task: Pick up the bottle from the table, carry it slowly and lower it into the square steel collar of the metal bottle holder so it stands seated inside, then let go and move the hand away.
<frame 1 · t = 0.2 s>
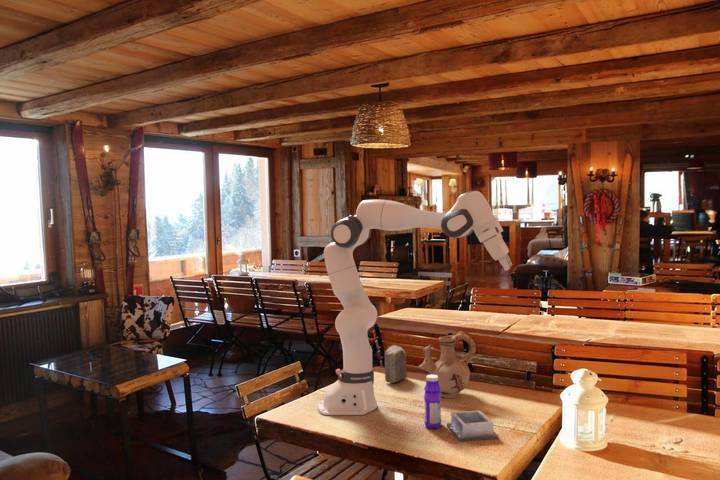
hand: (509, 268, 189), 54 cm above the table, tool tilted 30°, fingers open, 8 cm apart
bottle: (432, 426, 190), on the table
geological specimen: (395, 381, 241), on the table
bottle holder: (471, 432, 184), on the table
ceramic vessel: (446, 395, 222), on the table
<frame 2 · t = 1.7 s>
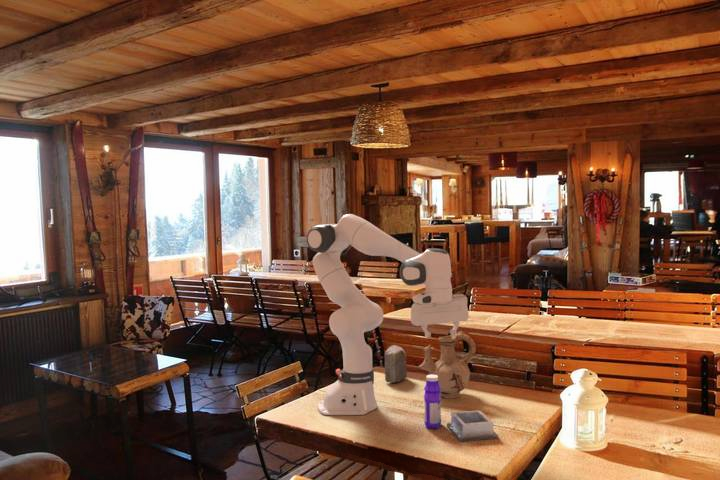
hand: (440, 336, 188), 31 cm above the table, tool pointing down, fingers open, 8 cm apart
nothing on the table moved.
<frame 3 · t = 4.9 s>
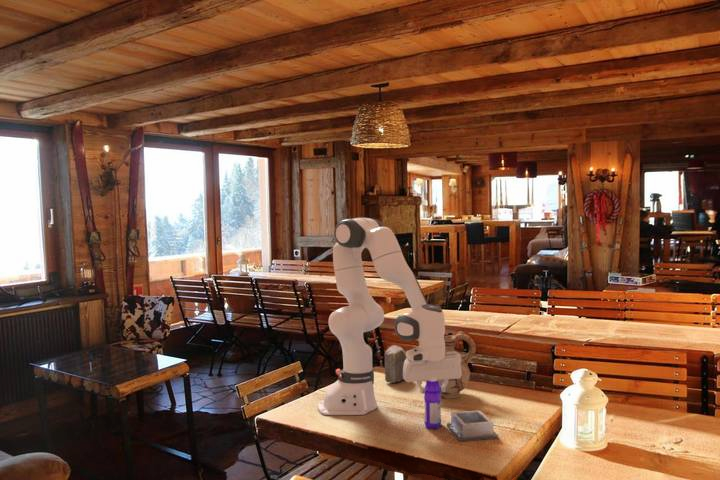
hand: (432, 392, 190), 12 cm above the table, tool pointing down, fingers closed on bottle, 6 cm apart
bottle: (432, 426, 190), on the table, touching gripper
everything else where it was.
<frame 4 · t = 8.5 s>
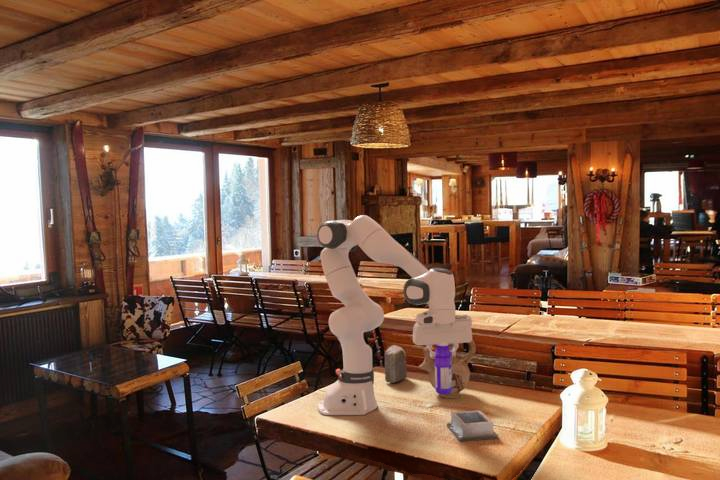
hand: (442, 356, 187), 24 cm above the table, tool pointing down, fingers closed on bottle, 6 cm apart
bottle: (443, 392, 187), point 12 cm above the table, touching gripper
everything else where it was.
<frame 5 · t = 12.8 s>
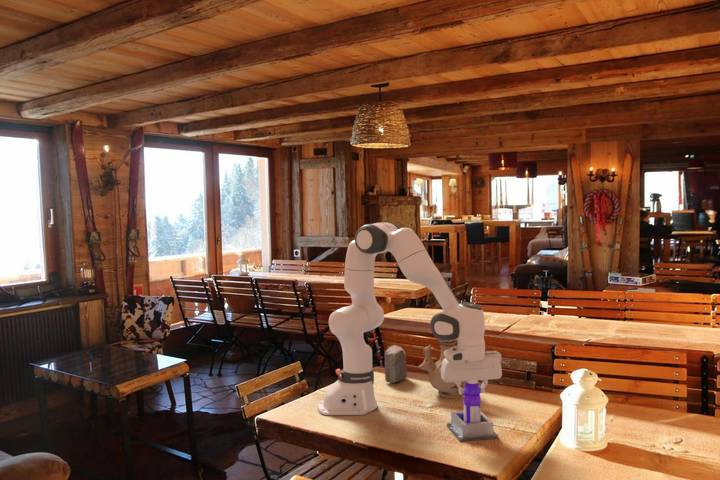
hand: (471, 393, 183), 13 cm above the table, tool pointing down, fingers closed on bottle, 6 cm apart
bottle: (472, 430, 184), point 1 cm above the table, touching bottle holder, gripper
everything else where it was.
when the fingers open (13 cm above the table, at t = 13.8 s): bottle stays where it is, resting on bottle holder.
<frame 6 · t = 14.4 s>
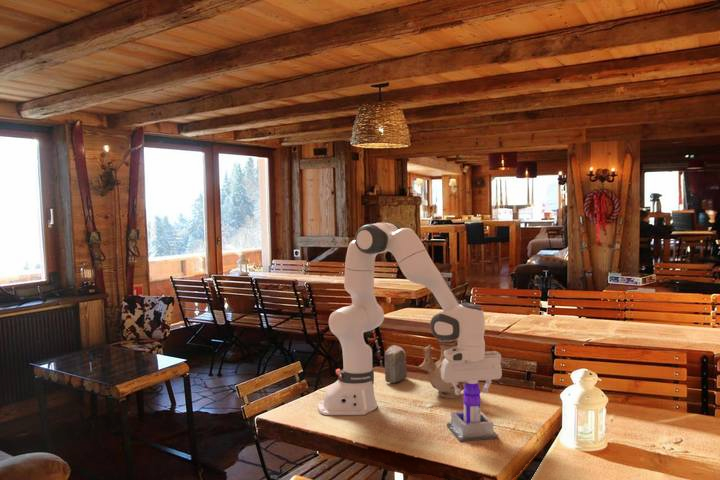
hand: (471, 393, 183), 13 cm above the table, tool pointing down, fingers open, 8 cm apart
bottle: (472, 430, 184), point 1 cm above the table, touching bottle holder
everything else where it was.
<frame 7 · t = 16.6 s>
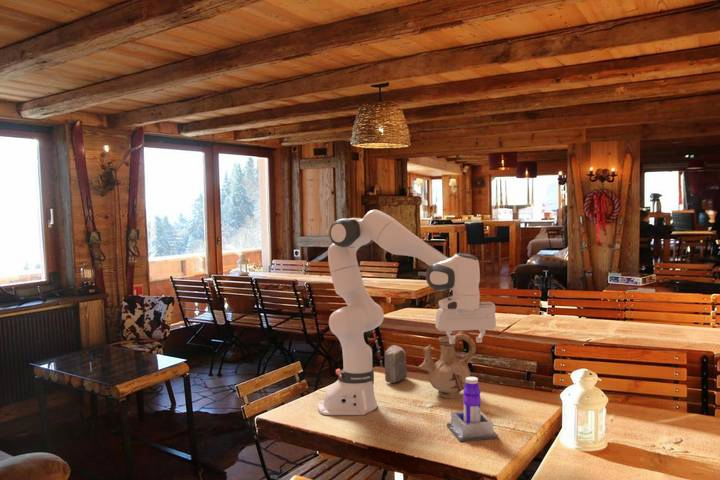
hand: (465, 343, 185), 29 cm above the table, tool pointing down, fingers open, 8 cm apart
nothing on the table moved.
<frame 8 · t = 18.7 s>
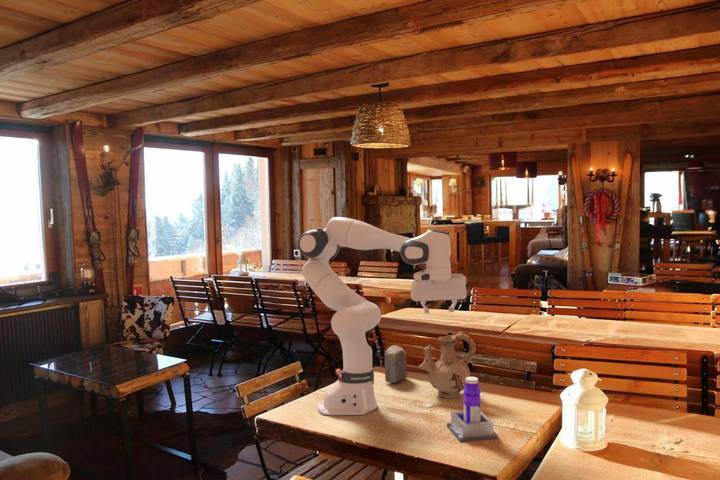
hand: (439, 312, 200), 37 cm above the table, tool pointing down, fingers open, 8 cm apart
nothing on the table moved.
at the end: bottle 0.4 cm off-centre on the bottle holder, point 0.8 cm above the bottle holder's base; bottle tilted 0°; the gripper is holding nothing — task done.
